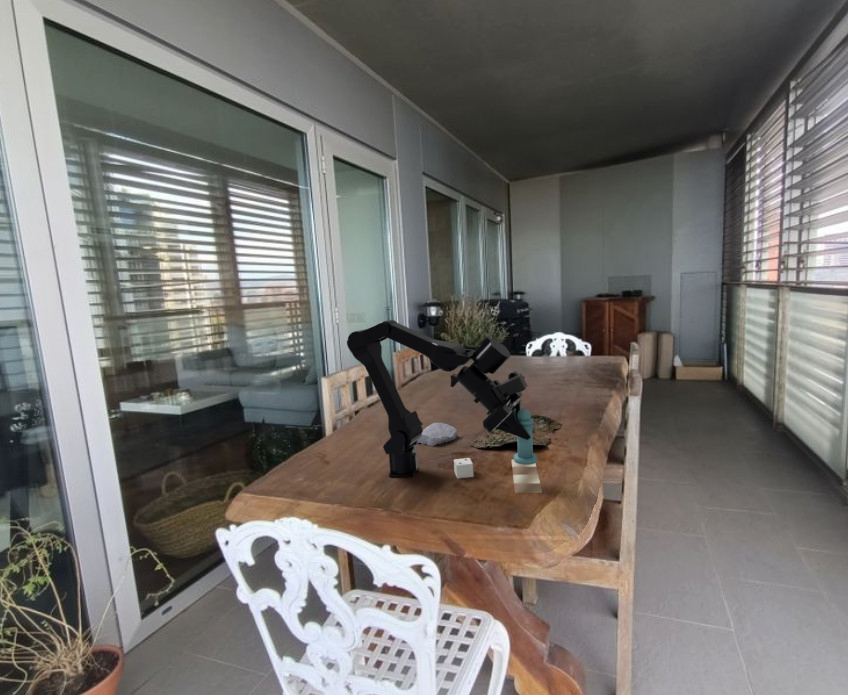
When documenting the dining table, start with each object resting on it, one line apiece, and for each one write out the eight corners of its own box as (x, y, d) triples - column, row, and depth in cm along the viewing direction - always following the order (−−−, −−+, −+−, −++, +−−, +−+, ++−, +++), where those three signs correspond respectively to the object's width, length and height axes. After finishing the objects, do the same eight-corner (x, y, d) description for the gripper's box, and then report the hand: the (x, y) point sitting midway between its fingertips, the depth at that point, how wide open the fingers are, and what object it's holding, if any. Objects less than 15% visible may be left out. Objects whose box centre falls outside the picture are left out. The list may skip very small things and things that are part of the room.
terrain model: (489, 419, 165) (489, 406, 164) (563, 427, 153) (563, 412, 153) (455, 448, 137) (454, 432, 137) (541, 461, 126) (541, 443, 125)
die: (457, 481, 114) (456, 465, 113) (454, 474, 118) (453, 459, 117) (473, 479, 114) (472, 463, 114) (470, 473, 118) (469, 457, 118)
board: (514, 495, 104) (514, 492, 104) (511, 461, 124) (511, 459, 123) (542, 495, 103) (542, 492, 103) (534, 461, 123) (534, 459, 123)
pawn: (514, 464, 105) (512, 412, 103) (513, 456, 110) (511, 406, 109) (538, 464, 104) (536, 412, 103) (536, 456, 109) (534, 405, 108)
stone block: (460, 442, 147) (435, 431, 153) (461, 428, 146) (436, 418, 152) (437, 455, 138) (411, 443, 144) (438, 441, 137) (412, 429, 143)
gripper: (495, 370, 97) (551, 424, 94) (512, 356, 114) (560, 401, 112) (461, 406, 101) (513, 459, 98) (482, 386, 118) (527, 431, 116)
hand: (530, 435), depth 106 cm, fingers closed on pawn, 4 cm apart
